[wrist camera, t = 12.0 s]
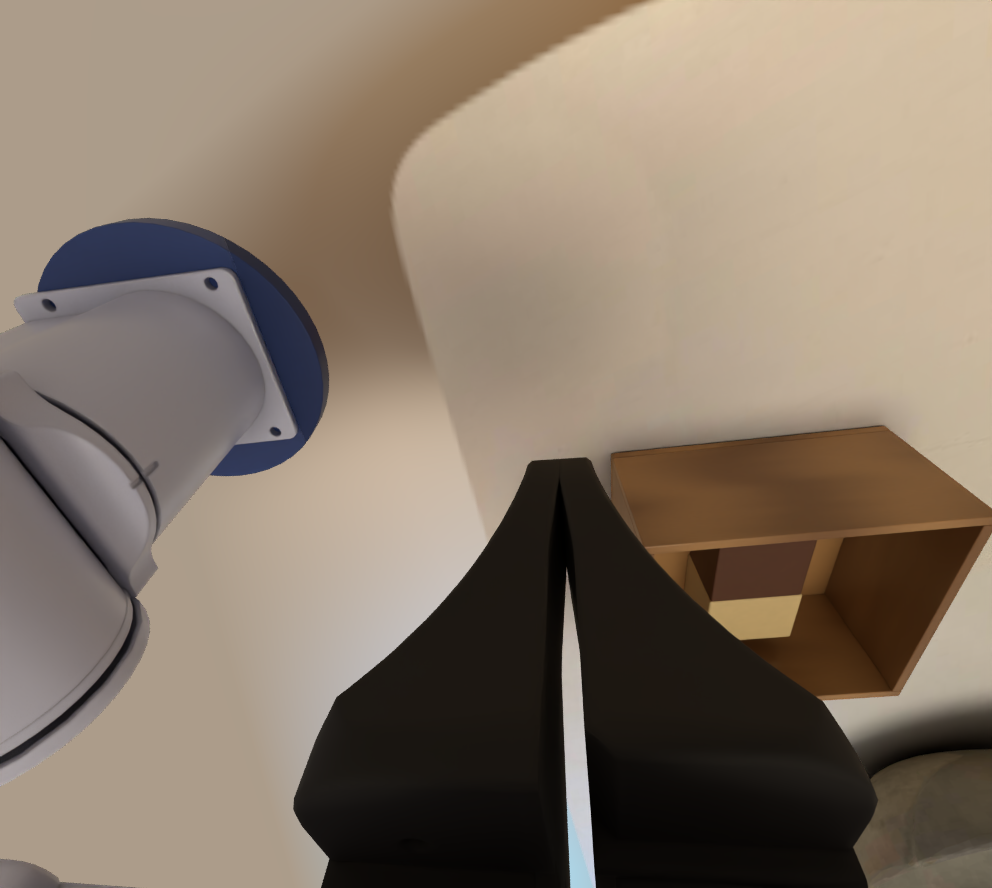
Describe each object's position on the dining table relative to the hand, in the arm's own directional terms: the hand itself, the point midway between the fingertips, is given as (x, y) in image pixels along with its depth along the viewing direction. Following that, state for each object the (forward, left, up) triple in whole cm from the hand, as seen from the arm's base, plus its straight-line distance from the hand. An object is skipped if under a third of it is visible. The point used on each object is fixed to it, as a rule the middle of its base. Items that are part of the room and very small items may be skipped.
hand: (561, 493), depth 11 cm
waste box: (+9, -11, -10) cm, 17 cm away
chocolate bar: (+9, -11, -9) cm, 17 cm away
